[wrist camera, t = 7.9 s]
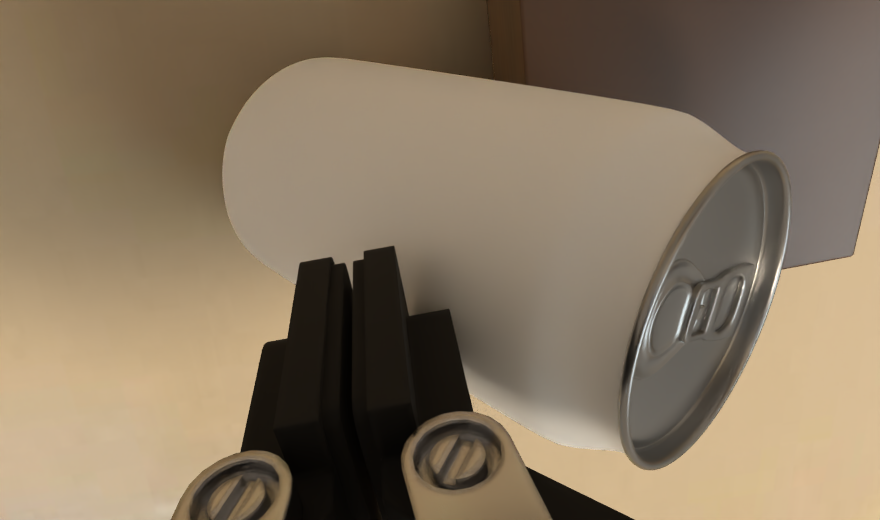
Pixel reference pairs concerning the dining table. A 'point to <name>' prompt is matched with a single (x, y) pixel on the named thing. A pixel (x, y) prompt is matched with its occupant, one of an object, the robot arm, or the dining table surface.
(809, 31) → the walnut block
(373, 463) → the robot arm
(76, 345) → the dining table surface
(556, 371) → the can
